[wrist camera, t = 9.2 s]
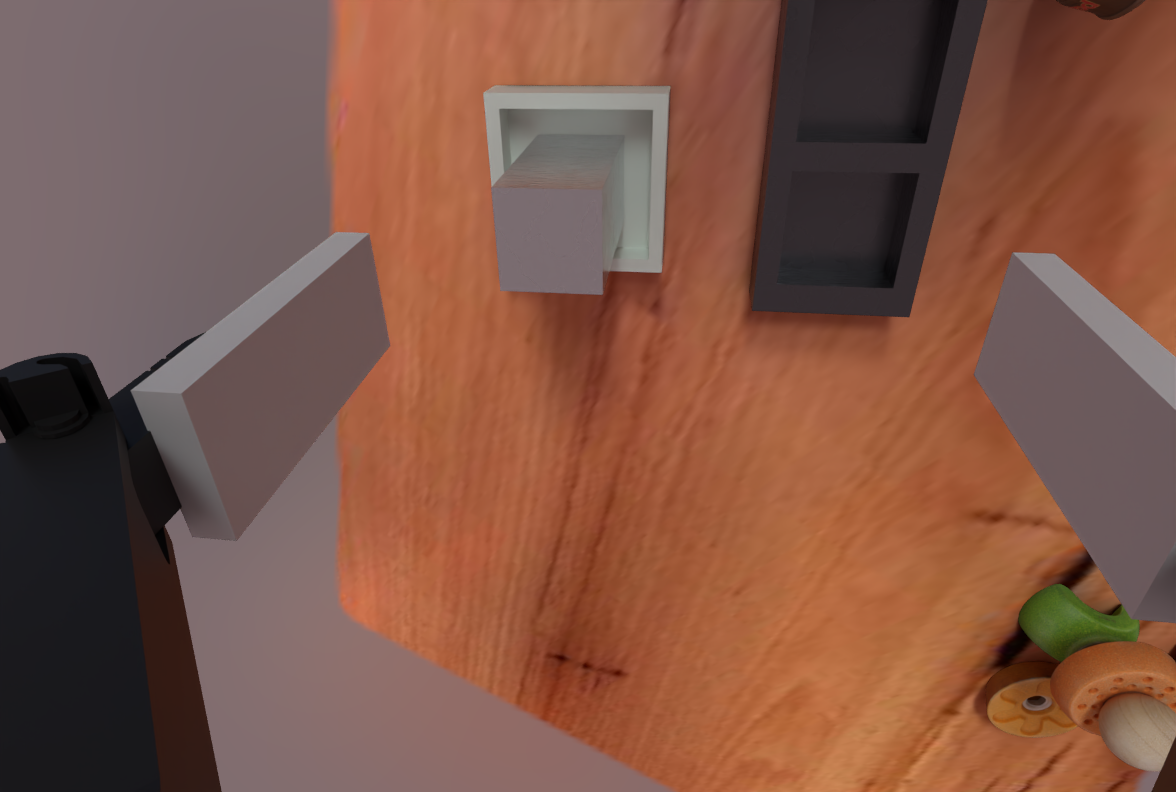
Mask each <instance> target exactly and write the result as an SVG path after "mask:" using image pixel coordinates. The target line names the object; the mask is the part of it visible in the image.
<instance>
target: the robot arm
mask: <svg viewBox="0 0 1176 792" xmlns="http://www.w3.org/2000/svg"><path fill="white" fill-rule="evenodd" d="M389 346H390V342H389V337H388V331H387V326H386V321H385V315H384V310H383V305H382V299H381V294H380V288H379V283H378V278H377V272H376V267H375V262H374V256H373V251H372V246H371V240H370V235H369V233H346V232H335V233H334V234H333V235H331V236H330V237H329V238H328V239H326V240H325V241H324V242H323V243H321V244H320V245H319V246H317V247H316V248H315V249H313V250H312V251H311V252H309V253H308V254H307V255H306V256H304V257H303V258H302V259H300V260H299V261H298V262H296V263H295V264H294V265H293V266H291V267H290V268H289V269H288V270H286V271H285V272H284V273H282V274H281V275H280V276H278V277H277V278H276V279H275V280H273V281H272V282H271V283H269V284H268V285H267V286H266V287H264V288H263V289H261V290H260V291H259V292H258V293H256V294H255V295H254V296H252V297H251V298H250V299H249V300H247V301H246V302H245V303H243V304H242V305H241V306H239V307H238V308H237V309H236V310H234V311H233V312H232V313H230V314H229V315H228V316H227V317H225V318H224V319H223V320H221V321H220V322H219V323H218V324H216V325H215V326H214V327H212V328H211V329H210V330H208V331H207V332H205V333H202V334H200V335H198V336H196V337H194V338H191V339H189V340H187V341H185V342H184V343H182V344H181V345H180V346H178V347H177V348H176V349H174V350H173V351H172V352H171V353H169V354H168V355H167V356H166V359H161V360H160V361H159V362H157V363H156V364H155V365H153V366H152V367H151V370H150V371H145V372H144V373H143V374H142V375H140V376H139V377H138V378H136V379H135V380H134V381H132V382H131V383H130V384H128V385H127V386H126V387H124V388H123V389H122V390H121V391H119V392H118V393H116V394H115V395H114V396H112V397H111V398H110V399H108V397H107V395H106V393H105V390H104V388H103V386H102V384H101V381H100V379H99V377H98V375H97V372H96V370H95V368H94V366H93V363H92V362H91V360H90V359H89V358H88V357H87V356H85V355H81V354H77V353H56V354H50V355H44V356H38V357H34V358H31V359H28V360H24V361H21V362H17V363H15V364H13V365H10V366H8V367H6V368H4V369H1V370H0V430H1V432H2V434H3V436H4V438H5V439H6V443H0V792H222V791H221V786H220V781H219V776H218V772H217V766H216V761H215V756H214V751H213V746H212V741H211V736H210V731H209V726H208V721H207V716H206V711H205V706H204V700H203V696H202V691H201V685H200V681H199V675H198V670H197V666H196V660H195V655H194V650H193V645H192V640H191V635H190V630H189V625H188V620H187V615H186V610H185V605H184V600H183V595H182V590H181V585H180V580H179V575H178V570H177V565H176V560H175V555H174V550H173V544H172V541H171V539H170V537H169V534H168V532H167V530H166V528H165V524H166V523H167V522H168V521H169V520H170V519H171V518H172V517H173V515H174V514H175V513H176V512H177V511H178V510H179V509H181V511H182V514H183V516H184V518H185V521H186V523H187V525H188V528H189V530H190V532H191V535H192V537H200V538H211V539H222V540H233V541H237V540H238V539H239V537H240V536H241V535H242V533H243V532H244V531H245V530H246V528H247V527H248V526H249V525H250V523H251V522H252V521H253V520H254V518H255V517H256V516H257V514H258V513H259V512H260V511H261V509H262V508H263V507H264V505H265V504H266V503H267V502H268V500H269V499H270V498H271V497H272V495H273V494H274V493H275V492H276V490H277V489H278V488H279V486H280V485H281V484H282V482H283V481H284V480H285V479H286V478H287V476H288V475H289V474H290V472H291V471H292V470H293V469H294V467H295V466H296V465H297V463H298V462H299V461H300V460H301V458H302V457H303V456H304V455H305V453H306V452H307V451H308V449H309V448H310V447H311V446H312V444H313V443H314V442H315V441H316V439H317V438H318V437H319V435H320V434H321V433H322V432H323V430H324V429H325V428H326V427H327V425H328V424H329V423H330V422H331V420H332V419H333V418H334V416H335V415H336V414H337V413H338V411H339V410H340V409H341V408H342V406H343V405H344V404H345V402H346V401H347V400H348V399H349V397H350V396H351V395H352V394H353V392H354V391H355V390H356V388H357V387H358V386H359V385H360V383H361V382H362V381H363V380H364V378H365V377H366V376H367V374H368V373H369V372H370V371H371V369H372V368H373V367H374V366H375V364H376V363H377V362H378V360H379V359H380V358H381V357H382V355H383V354H384V353H385V352H386V350H387V349H388V348H389ZM974 376H975V377H976V379H977V381H978V382H979V384H980V385H981V387H982V388H983V390H984V391H985V393H986V395H987V396H988V398H989V399H990V401H991V402H992V404H993V405H994V407H995V408H996V410H997V412H998V413H999V415H1000V416H1001V418H1002V419H1003V421H1004V422H1005V424H1006V426H1007V427H1008V429H1009V430H1010V432H1011V433H1012V435H1013V436H1014V438H1015V439H1016V441H1017V443H1018V444H1019V446H1020V447H1021V449H1022V450H1023V452H1024V453H1025V455H1026V457H1027V458H1028V460H1029V461H1030V463H1031V464H1032V466H1033V467H1034V469H1035V470H1036V472H1037V474H1038V475H1039V477H1040V478H1041V480H1042V481H1043V483H1044V484H1045V486H1046V488H1047V489H1048V491H1049V492H1050V494H1051V495H1052V497H1053V498H1054V500H1055V501H1056V503H1057V505H1058V506H1059V508H1060V509H1061V511H1062V512H1063V514H1064V515H1065V517H1066V519H1067V520H1068V522H1069V523H1070V525H1071V526H1072V528H1073V529H1074V531H1075V532H1076V534H1077V536H1078V537H1079V539H1080V540H1081V542H1082V543H1083V545H1084V546H1085V548H1086V550H1087V551H1088V553H1089V554H1090V556H1091V557H1092V559H1093V560H1094V562H1095V563H1096V565H1097V567H1098V568H1099V570H1100V571H1101V573H1102V574H1103V576H1104V577H1105V579H1106V581H1107V582H1108V584H1109V585H1110V587H1111V588H1112V590H1113V591H1114V593H1115V594H1116V596H1117V598H1118V599H1119V601H1120V602H1121V604H1122V605H1123V607H1124V608H1125V610H1126V612H1127V613H1128V615H1129V616H1130V618H1131V619H1136V620H1147V621H1159V622H1170V623H1176V357H1175V356H1174V355H1172V354H1171V353H1170V352H1169V351H1168V350H1167V349H1165V348H1164V347H1163V346H1162V345H1161V344H1160V343H1158V342H1157V341H1156V340H1155V339H1154V338H1153V337H1151V336H1150V335H1149V334H1148V333H1147V332H1146V331H1144V330H1143V329H1142V328H1141V327H1140V326H1139V325H1137V324H1136V323H1135V322H1134V321H1133V320H1131V319H1130V318H1129V317H1128V316H1127V315H1126V314H1124V313H1123V312H1122V311H1121V310H1120V309H1119V308H1117V307H1116V306H1115V305H1114V304H1113V303H1112V302H1110V301H1109V300H1108V299H1107V298H1106V297H1105V296H1103V295H1102V294H1101V293H1100V292H1099V291H1098V290H1096V289H1095V288H1094V287H1093V286H1092V285H1091V284H1089V283H1088V282H1087V281H1086V280H1085V279H1084V278H1082V277H1081V276H1080V275H1079V274H1078V273H1077V272H1075V271H1074V270H1073V269H1072V268H1071V267H1069V266H1068V265H1067V264H1066V263H1065V262H1064V261H1062V260H1061V259H1060V258H1059V257H1058V256H1057V255H1055V254H1047V253H1013V252H1012V255H1011V259H1010V262H1009V265H1008V268H1007V271H1006V274H1005V278H1004V281H1003V284H1002V287H1001V290H1000V293H999V297H998V300H997V303H996V306H995V309H994V312H993V316H992V319H991V322H990V325H989V328H988V331H987V335H986V338H985V341H984V344H983V347H982V350H981V354H980V357H979V360H978V363H977V366H976V370H975V373H974ZM1152 792H1176V737H1175V739H1174V741H1173V744H1172V746H1171V748H1170V751H1169V753H1168V755H1167V757H1166V760H1165V762H1164V764H1163V767H1162V769H1161V771H1160V774H1159V776H1158V778H1157V781H1156V783H1155V785H1154V787H1153V790H1152Z"/></svg>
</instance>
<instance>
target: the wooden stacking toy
mask: <svg viewBox="0 0 1176 792" xmlns="http://www.w3.org/2000/svg"><path fill="white" fill-rule="evenodd" d="M1018 622H1019V624H1020V626H1021V628H1022V629H1023V631H1024V632H1025V633H1026V634H1027V636H1028V637H1029V638H1030V639H1031V640H1032V641H1033V642H1034V643H1035V644H1036V645H1037V646H1038V647H1039V648H1041V649H1042V650H1043V651H1045V652H1046V653H1047V654H1049V655H1050V656H1052V657H1053V658H1055V659H1056V660H1058V661H1060V662H1061V663H1060V664H1059V665H1058V664H1054V663H1050V662H1042V661H1032V662H1023V663H1018V664H1014V665H1011V666H1009V667H1006V668H1004V669H1002V670H1000V671H999V672H997V673H996V674H995V675H993V676H992V677H991V679H990V680H989V682H988V683H987V686H986V705H987V715H988V718H989V720H990V721H991V722H992V724H993V725H995V726H996V727H997V728H999V729H1000V730H1002V731H1004V732H1006V733H1009V734H1012V735H1016V736H1021V737H1032V738H1037V737H1048V736H1054V735H1058V734H1062V733H1065V732H1068V731H1070V730H1072V729H1074V728H1076V727H1078V726H1079V727H1080V728H1082V729H1084V730H1085V731H1087V732H1090V733H1092V734H1096V735H1099V736H1102V738H1103V740H1104V742H1105V744H1106V745H1107V747H1108V748H1109V749H1110V750H1111V751H1112V753H1113V754H1115V755H1116V756H1117V757H1118V758H1119V759H1121V760H1122V761H1124V762H1125V763H1127V764H1129V765H1131V766H1133V767H1135V768H1138V769H1142V770H1146V771H1161V769H1162V767H1163V764H1164V762H1165V760H1166V757H1167V755H1168V753H1169V751H1170V748H1171V746H1172V744H1173V741H1174V739H1175V737H1176V662H1175V661H1174V660H1173V658H1172V657H1171V656H1169V655H1168V654H1167V653H1165V652H1164V651H1162V650H1161V649H1158V648H1156V647H1154V646H1151V645H1149V644H1145V643H1141V642H1136V641H1137V638H1138V635H1139V620H1136V619H1131V618H1130V616H1129V615H1128V613H1127V612H1126V610H1125V608H1124V607H1123V605H1121V606H1120V607H1119V608H1118V609H1117V610H1116V611H1115V612H1114V613H1113V614H1112V615H1106V614H1102V613H1100V612H1098V611H1096V610H1094V609H1092V608H1090V607H1089V606H1087V605H1086V604H1085V603H1083V602H1082V601H1081V600H1080V599H1079V598H1078V597H1077V596H1076V595H1075V594H1074V593H1073V592H1072V591H1071V590H1070V589H1068V588H1067V587H1066V586H1064V585H1061V584H1054V585H1052V586H1049V587H1047V588H1044V589H1043V590H1041V591H1039V592H1037V593H1036V594H1035V595H1033V596H1032V597H1031V598H1030V599H1029V600H1028V601H1027V602H1026V603H1025V604H1024V606H1023V607H1022V609H1021V611H1020V613H1019V618H1018Z"/></svg>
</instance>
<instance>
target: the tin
mask: <svg viewBox="0 0 1176 792" xmlns="http://www.w3.org/2000/svg"><path fill="white" fill-rule="evenodd" d="M1057 1H1058V2H1059V3H1061V4H1062V5H1065V6H1068V7H1072V8H1075V9H1079V10H1083V11H1087V12H1091V13H1094V14H1095V15H1096V16H1098V17H1099V18H1101V19H1104V20H1112V19H1116V18H1119V17H1121V16H1123V15H1125V14H1127V13H1129V12H1130V11H1132V10H1133V9H1134V8H1136V7H1138V6H1139V5H1140V4H1142V3H1143V2H1144V1H1145V0H1057Z"/></svg>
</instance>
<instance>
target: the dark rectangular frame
mask: <svg viewBox="0 0 1176 792" xmlns="http://www.w3.org/2000/svg"><path fill="white" fill-rule="evenodd" d="M986 4H987V0H782V2H781V11H780V20H779V29H778V38H777V47H776V56H775V65H774V74H773V83H772V92H771V100H770V109H769V118H768V127H767V136H766V145H765V154H764V163H763V172H762V181H761V190H760V198H759V207H758V216H757V225H756V234H755V243H754V252H753V261H752V270H751V279H750V288H749V293H750V300H751V307H752V311H773V312H797V313H821V314H846V315H870V316H894V317H909V316H910V312H911V308H912V304H913V300H914V296H915V292H916V288H917V284H918V280H919V276H920V272H921V268H922V263H923V259H924V255H925V251H926V247H927V243H928V239H929V235H930V231H931V227H932V223H933V219H934V215H935V211H936V207H937V203H938V199H939V195H940V191H941V187H942V182H943V178H944V174H945V170H946V166H947V162H948V158H949V154H950V150H951V146H952V142H953V138H954V134H955V130H956V126H957V122H958V118H959V114H960V110H961V106H962V101H963V97H964V93H965V89H966V85H967V81H968V77H969V73H970V69H971V65H972V61H973V57H974V53H975V49H976V45H977V41H978V37H979V33H980V29H981V25H982V20H983V16H984V12H985V8H986Z"/></svg>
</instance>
